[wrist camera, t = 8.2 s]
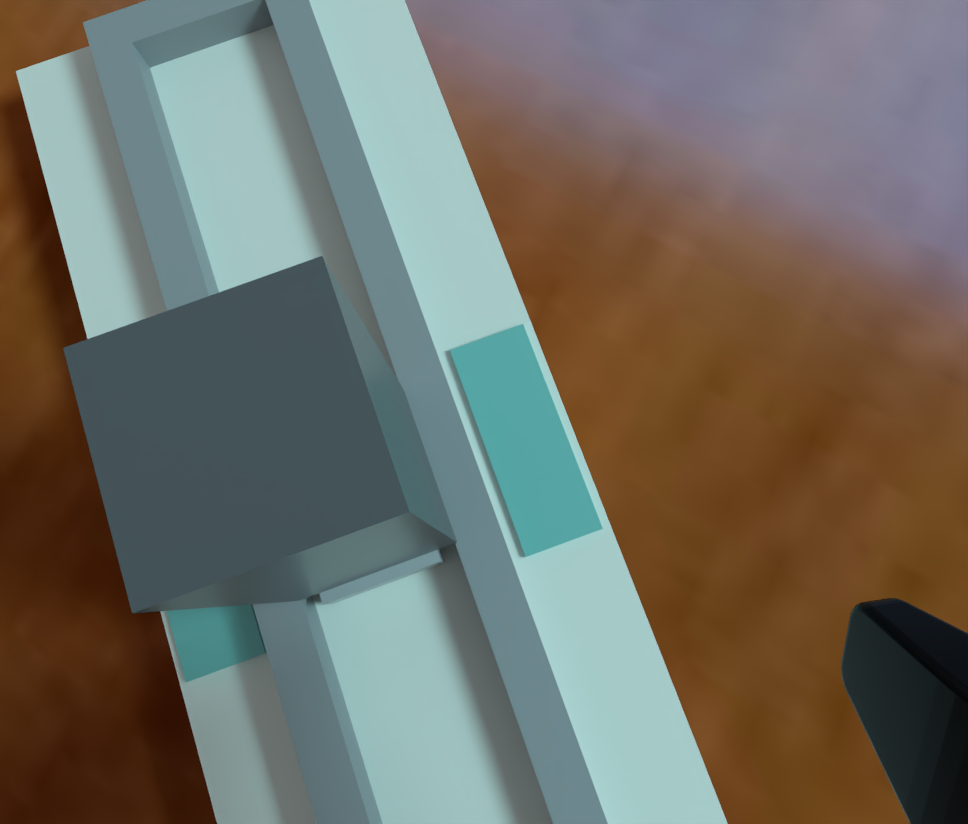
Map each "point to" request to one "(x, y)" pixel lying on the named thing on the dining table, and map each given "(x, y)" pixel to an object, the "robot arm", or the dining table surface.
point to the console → (434, 405)
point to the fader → (256, 450)
